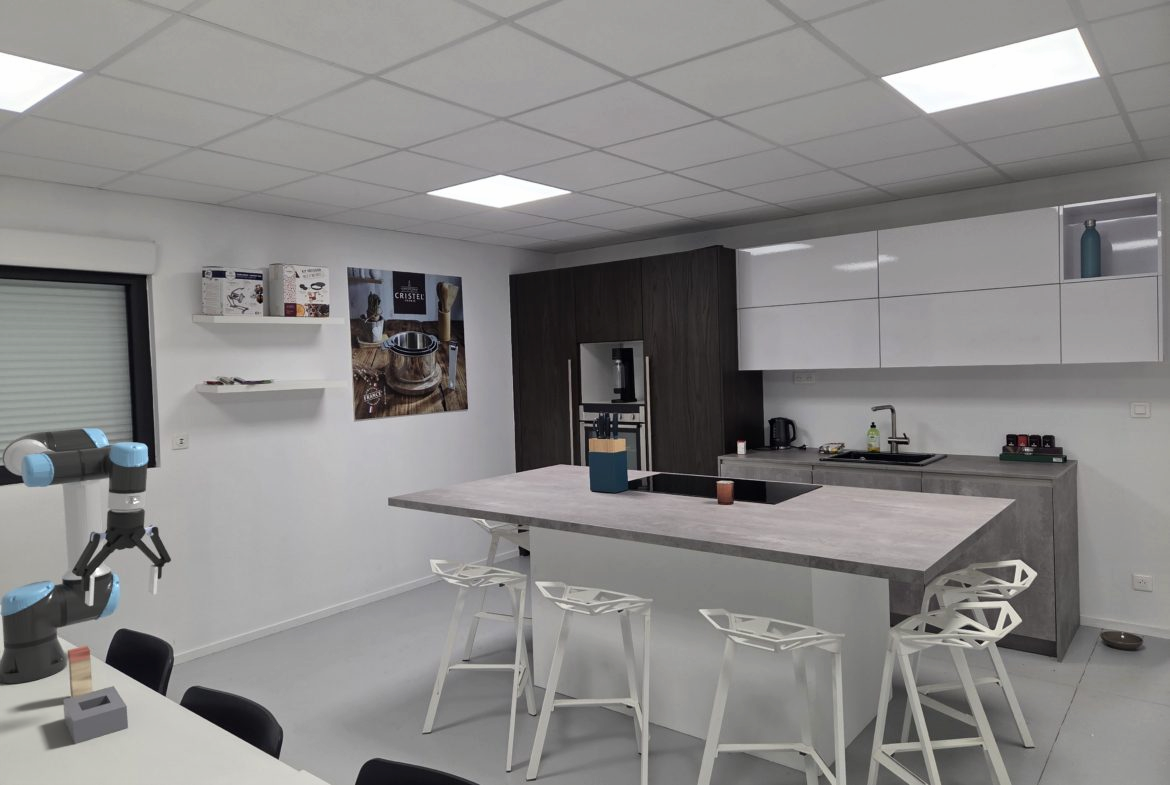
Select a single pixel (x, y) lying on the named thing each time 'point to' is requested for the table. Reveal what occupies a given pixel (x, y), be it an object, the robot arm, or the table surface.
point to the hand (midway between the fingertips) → (121, 598)
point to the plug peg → (80, 671)
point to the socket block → (95, 714)
